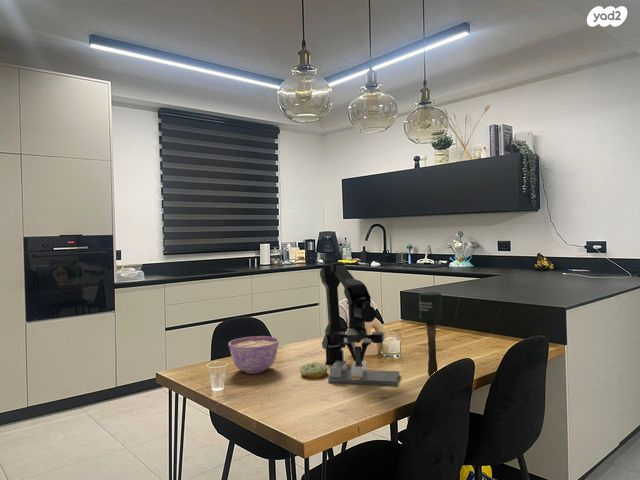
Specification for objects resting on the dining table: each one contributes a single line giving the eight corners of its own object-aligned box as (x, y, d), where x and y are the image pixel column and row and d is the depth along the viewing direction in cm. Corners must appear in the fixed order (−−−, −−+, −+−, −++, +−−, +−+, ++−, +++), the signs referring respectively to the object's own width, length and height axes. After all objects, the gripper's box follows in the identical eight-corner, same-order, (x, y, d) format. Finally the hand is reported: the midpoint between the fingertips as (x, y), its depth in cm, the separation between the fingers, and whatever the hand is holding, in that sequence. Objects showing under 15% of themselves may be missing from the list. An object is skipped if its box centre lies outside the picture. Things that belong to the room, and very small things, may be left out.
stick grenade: (418, 372, 177) (415, 292, 177) (440, 371, 178) (437, 291, 178) (425, 379, 169) (421, 295, 168) (448, 377, 169) (445, 294, 169)
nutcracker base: (328, 382, 169) (327, 368, 169) (336, 372, 181) (335, 359, 181) (395, 385, 163) (395, 371, 163) (399, 375, 174) (398, 361, 174)
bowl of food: (219, 376, 183) (218, 346, 182) (245, 362, 201) (243, 335, 201) (266, 379, 176) (264, 348, 176) (288, 365, 195) (286, 337, 194)
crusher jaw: (351, 377, 169) (350, 349, 169) (355, 371, 177) (354, 344, 177) (362, 377, 168) (361, 349, 168) (366, 371, 176) (365, 344, 176)
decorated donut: (300, 380, 174) (300, 370, 174) (299, 371, 185) (299, 362, 185) (328, 378, 175) (328, 368, 175) (326, 370, 186) (325, 360, 186)
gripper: (326, 321, 167) (328, 366, 167) (379, 322, 162) (381, 367, 162) (333, 316, 178) (335, 357, 178) (383, 316, 173) (385, 359, 173)
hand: (358, 360), depth 172 cm, fingers closed on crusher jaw, 2 cm apart
